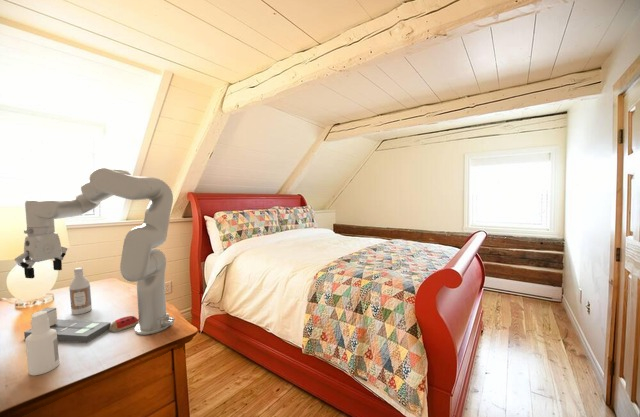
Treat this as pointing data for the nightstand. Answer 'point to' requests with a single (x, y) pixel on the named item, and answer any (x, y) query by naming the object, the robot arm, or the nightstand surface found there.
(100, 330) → the mixing desk
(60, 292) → the nightstand surface
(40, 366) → the white bottle
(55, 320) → the fader knob
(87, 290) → the bath foam
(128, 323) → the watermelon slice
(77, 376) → the nightstand surface
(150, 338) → the nightstand surface
